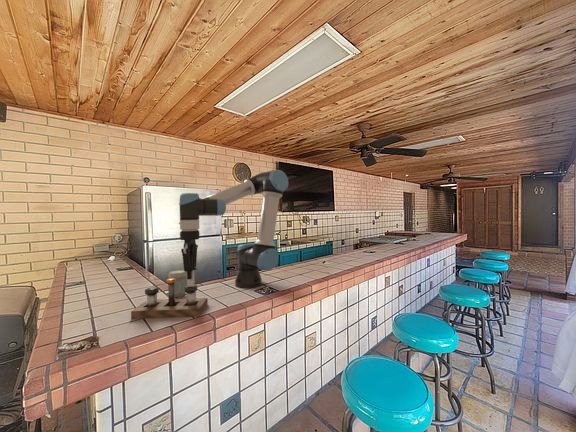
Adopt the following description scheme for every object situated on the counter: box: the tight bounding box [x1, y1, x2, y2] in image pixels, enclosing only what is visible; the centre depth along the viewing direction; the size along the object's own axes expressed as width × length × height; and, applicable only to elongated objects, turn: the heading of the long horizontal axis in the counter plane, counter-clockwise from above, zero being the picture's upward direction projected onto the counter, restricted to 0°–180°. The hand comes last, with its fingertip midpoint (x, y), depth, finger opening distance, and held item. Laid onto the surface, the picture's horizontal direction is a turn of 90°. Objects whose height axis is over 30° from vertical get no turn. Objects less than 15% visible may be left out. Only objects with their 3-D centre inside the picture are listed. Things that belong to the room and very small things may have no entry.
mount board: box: [130, 297, 209, 320], centre depth 99 cm, size 26×12×3 cm, turn 93°
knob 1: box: [144, 286, 160, 307], centre depth 99 cm, size 5×5×10 cm
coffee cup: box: [168, 269, 187, 298], centre depth 118 cm, size 8×8×12 cm
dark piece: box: [166, 278, 176, 305], centre depth 99 cm, size 3×3×10 cm
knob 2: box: [185, 284, 198, 306], centre depth 100 cm, size 5×5×10 cm
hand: (190, 286), depth 99 cm, fingers closed
